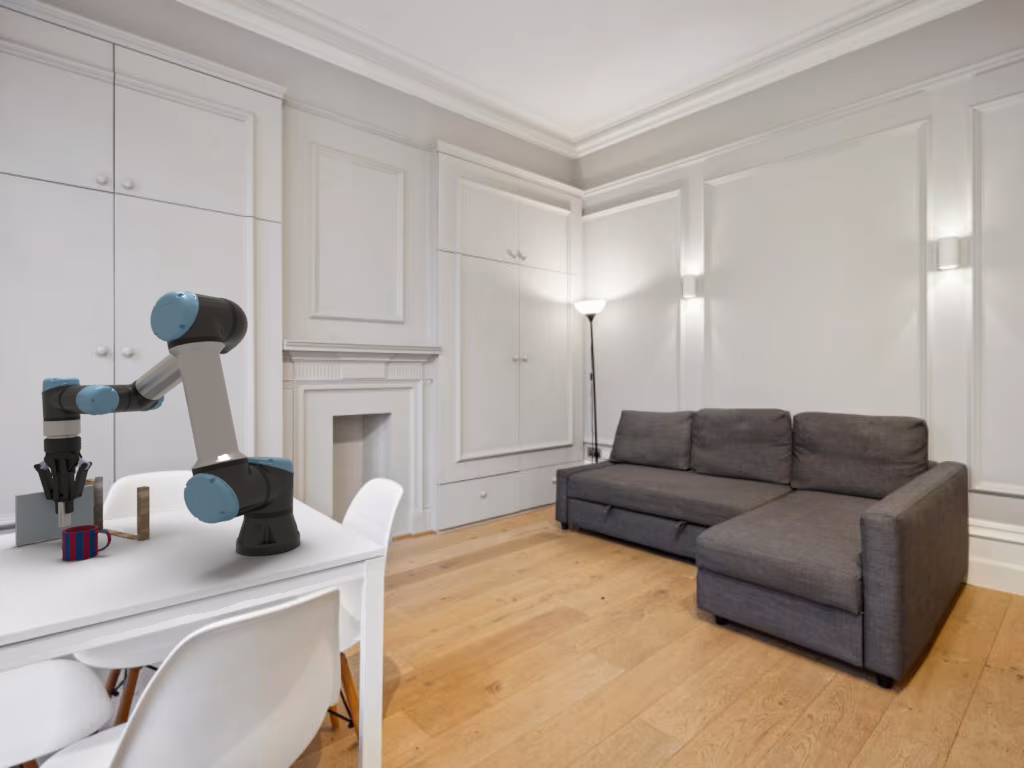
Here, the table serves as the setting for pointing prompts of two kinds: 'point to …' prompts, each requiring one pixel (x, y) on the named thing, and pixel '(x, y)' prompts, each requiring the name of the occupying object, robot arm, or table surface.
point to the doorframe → (142, 510)
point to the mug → (81, 542)
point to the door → (48, 516)
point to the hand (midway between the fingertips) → (64, 525)
